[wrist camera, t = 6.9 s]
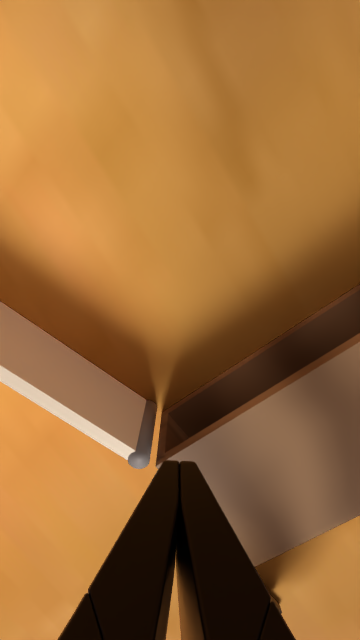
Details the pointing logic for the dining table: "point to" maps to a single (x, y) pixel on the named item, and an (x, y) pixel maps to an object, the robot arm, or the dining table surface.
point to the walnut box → (280, 433)
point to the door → (74, 389)
